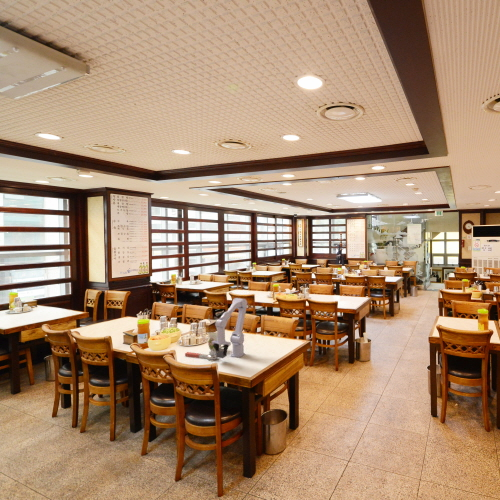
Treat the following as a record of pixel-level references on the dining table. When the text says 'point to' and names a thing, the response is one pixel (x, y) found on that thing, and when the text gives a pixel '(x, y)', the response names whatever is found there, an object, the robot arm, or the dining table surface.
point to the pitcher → (212, 338)
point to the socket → (220, 353)
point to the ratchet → (203, 355)
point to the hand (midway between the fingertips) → (221, 354)
